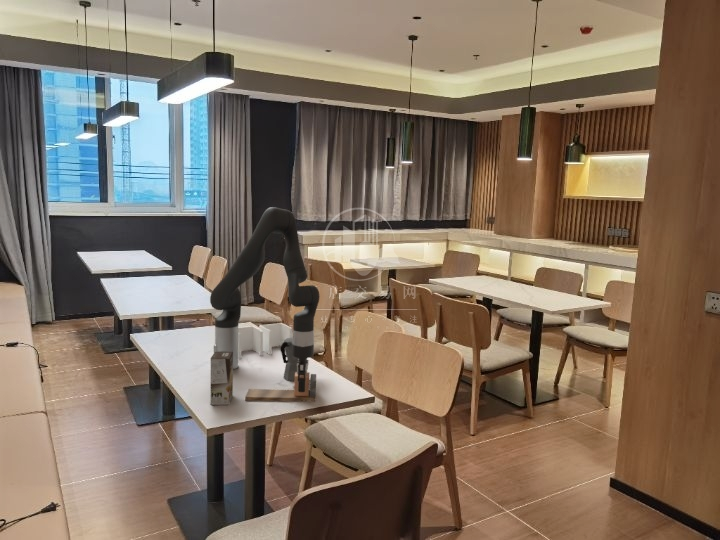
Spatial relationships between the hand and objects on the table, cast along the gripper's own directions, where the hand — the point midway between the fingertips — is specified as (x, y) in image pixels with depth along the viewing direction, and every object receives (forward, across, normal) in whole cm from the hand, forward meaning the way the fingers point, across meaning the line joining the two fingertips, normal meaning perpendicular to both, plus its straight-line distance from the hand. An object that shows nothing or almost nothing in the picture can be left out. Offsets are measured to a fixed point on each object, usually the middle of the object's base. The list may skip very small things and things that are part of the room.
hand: (302, 387), depth 203 cm
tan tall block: (+2, 0, 0) cm, 2 cm away
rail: (+3, 0, -7) cm, 8 cm away
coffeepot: (+4, -20, -4) cm, 21 cm away
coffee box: (+4, +4, -27) cm, 28 cm away
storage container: (+4, -56, -21) cm, 60 cm away
